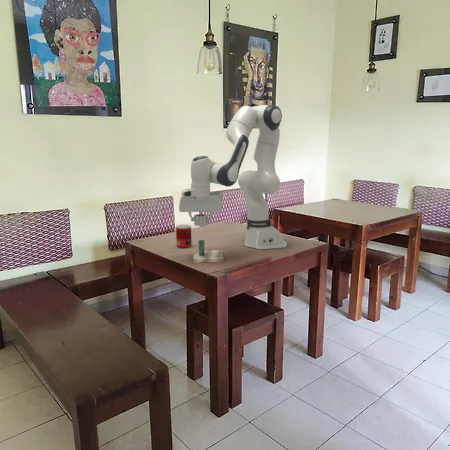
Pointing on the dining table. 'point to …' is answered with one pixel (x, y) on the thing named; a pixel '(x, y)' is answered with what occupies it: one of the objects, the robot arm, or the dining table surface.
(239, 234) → the dining table surface
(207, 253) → the green peg on board
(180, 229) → the canned food
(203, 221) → the grey segmented ring
